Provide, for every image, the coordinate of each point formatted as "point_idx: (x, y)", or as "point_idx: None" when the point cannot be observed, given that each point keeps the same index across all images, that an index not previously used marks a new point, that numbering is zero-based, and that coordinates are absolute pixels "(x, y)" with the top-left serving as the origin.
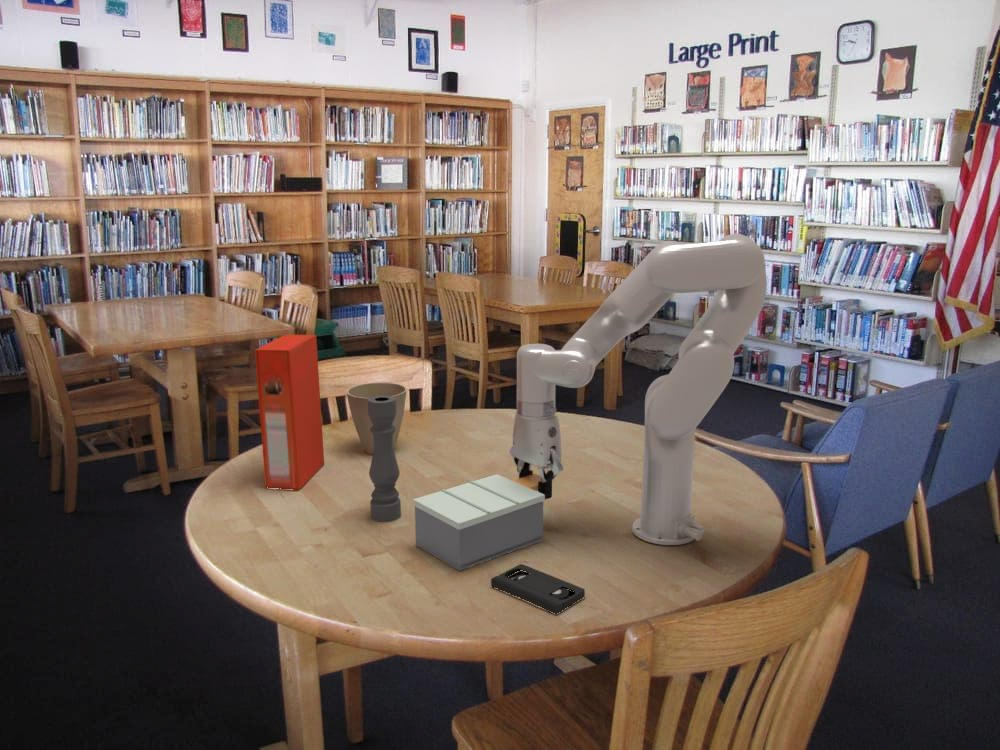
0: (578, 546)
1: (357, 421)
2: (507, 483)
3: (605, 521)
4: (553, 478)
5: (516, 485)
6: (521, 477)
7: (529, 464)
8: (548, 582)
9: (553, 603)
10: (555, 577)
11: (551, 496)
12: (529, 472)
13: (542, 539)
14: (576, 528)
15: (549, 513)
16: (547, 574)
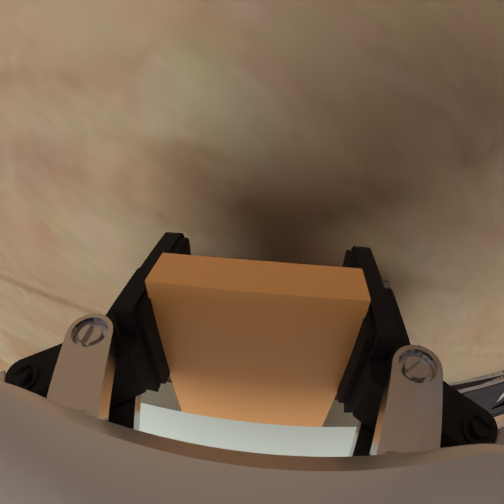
0: (486, 238)
1: None
2: (202, 432)
3: (449, 7)
4: (433, 366)
5: (252, 433)
6: (168, 373)
7: (109, 382)
8: (484, 398)
9: (500, 413)
10: (491, 386)
11: (368, 249)
12: (145, 338)
13: (389, 286)
14: (421, 127)
15: (236, 87)
16: (477, 390)
